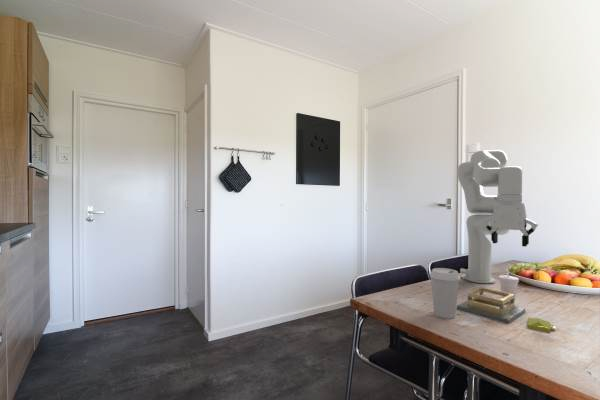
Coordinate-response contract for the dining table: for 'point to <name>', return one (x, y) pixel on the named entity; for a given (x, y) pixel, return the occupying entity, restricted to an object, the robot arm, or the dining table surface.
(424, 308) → the dining table surface
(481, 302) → the collar stand
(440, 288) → the coffee cup
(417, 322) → the dining table surface
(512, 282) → the smoothie
